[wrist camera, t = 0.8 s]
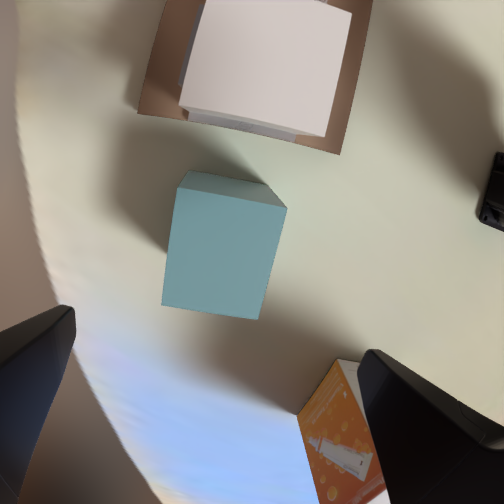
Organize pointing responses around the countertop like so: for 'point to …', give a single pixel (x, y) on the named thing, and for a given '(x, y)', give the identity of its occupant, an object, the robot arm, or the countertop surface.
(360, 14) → the rail board
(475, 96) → the countertop surface
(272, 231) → the block
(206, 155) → the countertop surface
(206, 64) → the mounted modules
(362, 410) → the small box
